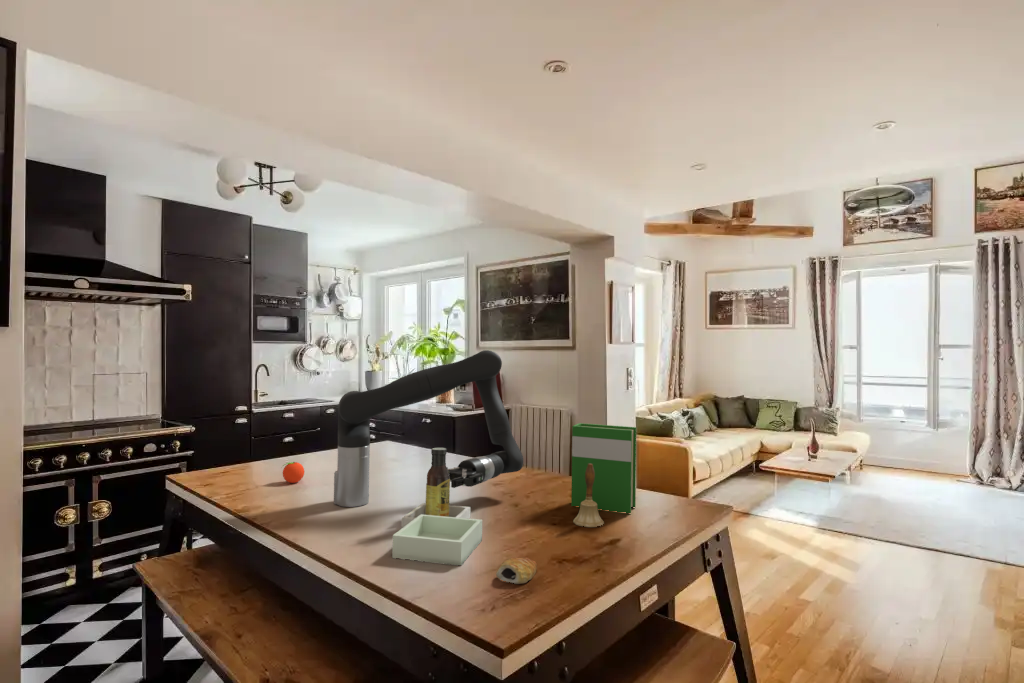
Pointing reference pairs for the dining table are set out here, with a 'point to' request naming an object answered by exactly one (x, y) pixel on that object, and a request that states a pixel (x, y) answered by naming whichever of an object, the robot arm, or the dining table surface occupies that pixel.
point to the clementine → (293, 472)
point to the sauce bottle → (438, 485)
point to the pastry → (517, 570)
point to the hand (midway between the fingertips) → (439, 481)
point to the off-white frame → (421, 509)
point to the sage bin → (438, 539)
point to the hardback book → (605, 465)
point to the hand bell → (588, 504)
